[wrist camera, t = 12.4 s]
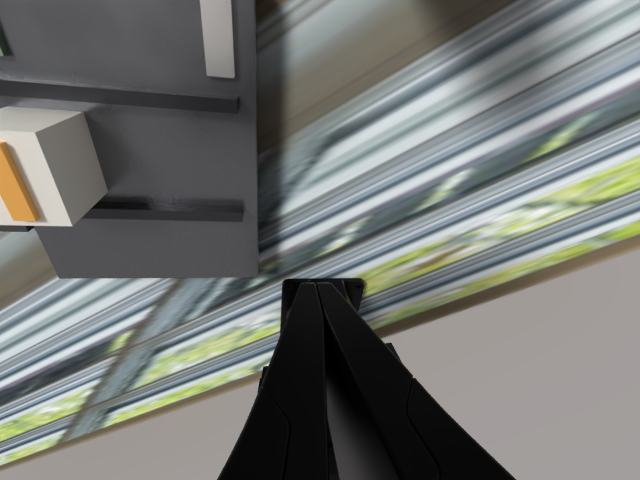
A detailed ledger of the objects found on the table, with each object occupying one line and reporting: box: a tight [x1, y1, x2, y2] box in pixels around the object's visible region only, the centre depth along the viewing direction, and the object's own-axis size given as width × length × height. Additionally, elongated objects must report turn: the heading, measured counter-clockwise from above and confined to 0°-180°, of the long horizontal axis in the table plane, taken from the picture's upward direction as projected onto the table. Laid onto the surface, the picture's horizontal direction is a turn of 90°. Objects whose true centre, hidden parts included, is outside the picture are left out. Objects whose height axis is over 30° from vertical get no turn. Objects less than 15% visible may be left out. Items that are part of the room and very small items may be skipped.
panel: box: [0, 0, 259, 278], centre depth 16 cm, size 16×12×3 cm
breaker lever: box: [0, 106, 108, 226], centre depth 13 cm, size 4×3×4 cm
